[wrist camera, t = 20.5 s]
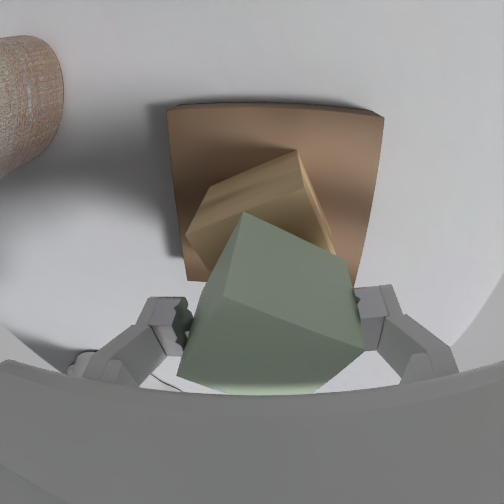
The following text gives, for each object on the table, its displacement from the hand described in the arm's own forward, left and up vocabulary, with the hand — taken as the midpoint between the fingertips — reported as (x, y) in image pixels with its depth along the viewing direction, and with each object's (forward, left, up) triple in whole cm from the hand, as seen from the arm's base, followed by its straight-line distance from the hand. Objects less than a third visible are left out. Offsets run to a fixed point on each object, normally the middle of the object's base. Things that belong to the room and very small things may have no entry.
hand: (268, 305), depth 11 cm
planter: (+9, +20, -11) cm, 25 cm away
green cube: (0, 0, -2) cm, 2 cm away
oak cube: (0, 0, -8) cm, 8 cm away
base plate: (0, 0, -11) cm, 11 cm away
